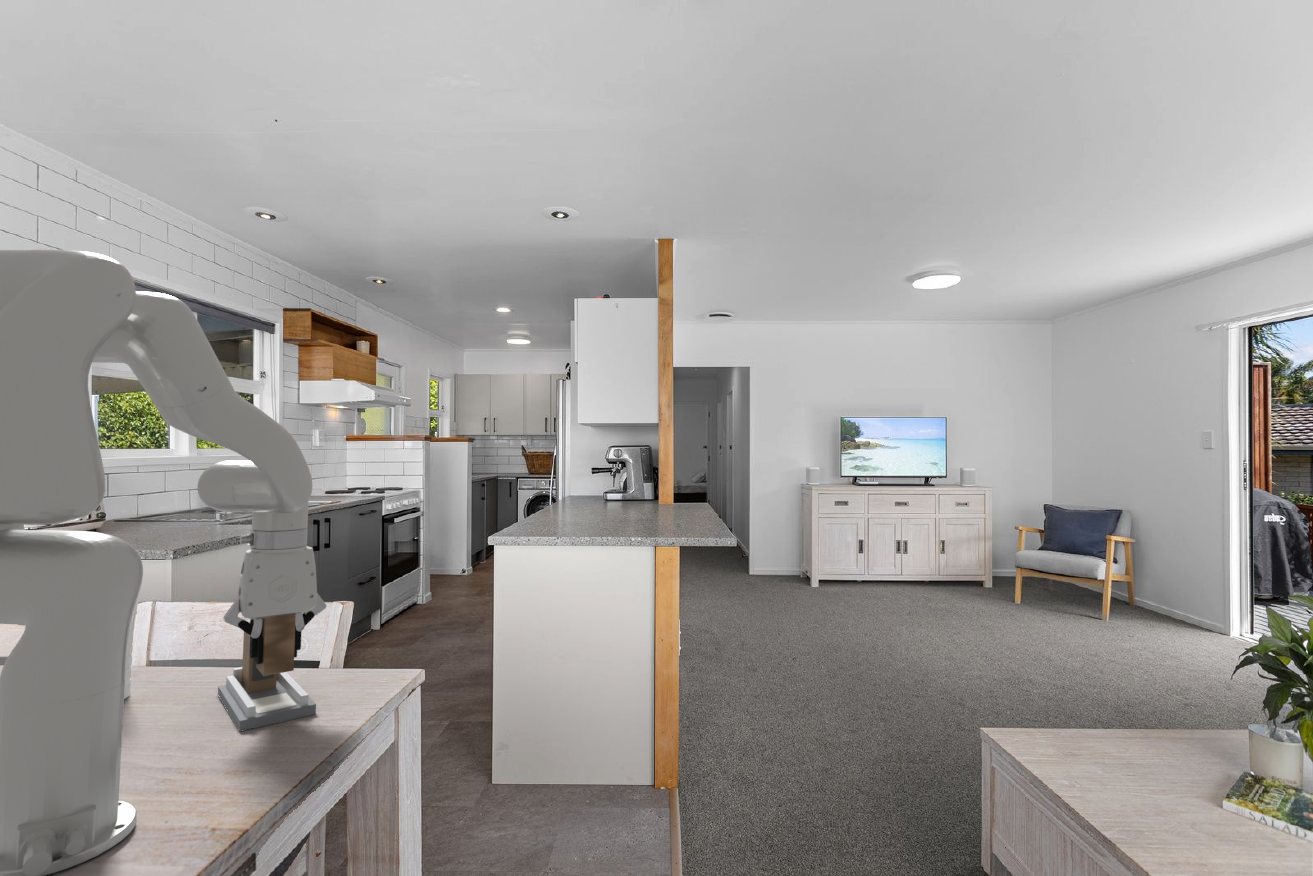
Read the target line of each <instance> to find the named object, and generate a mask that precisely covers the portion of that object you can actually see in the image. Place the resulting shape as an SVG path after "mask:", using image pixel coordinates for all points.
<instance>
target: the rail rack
mask: <svg viewBox="0 0 1313 876" xmlns="http://www.w3.org/2000/svg"><path fill="white" fill-rule="evenodd" d="M225 678H226V679H225V680H226V681H225V684H224V685H218V686H217V687H218V688H217V696H218V695H219V696H220V698H221V700H222V701H223V703H222V705H223V704H224V705H225V707H226V708H225V707H224V708H225V710H226V709H227V710H228V712H229V713H228V712H227V713H228V715H229V714H230V715H231V717H230V719H231V720H232V719H233V720H232V721H234V722H233V723H234V725H235V724H236V725H235V726H237V727H236V728H237V730H238V729H239V730H238V732H239V731H240V732H243V731H242V730H244V731H247V729H249V730H252V729H251V728H253V729H256V728H261V727H264V726H269V725H274V724H278V723H283V722H287V721H290V720H291V721H292V720H296V719H299V718H303V717H308V716H314V715H316V714H317V712H316V711H317V703H316V702H315V701H314V700H313V699H312V698H311V697H310V696H309V694H308V693H307V692H306V691H305V690H304V689H303V688H302V687H301V685H300V684H299V683H298V682H296V681H295V679H294V678H293V677H292V676H291V675H290V674H289V673H288V672H283V673H278V674H273V675H268V676H263V675H262V673H261V672H260V671H259V670H258V669H257V663H256V662H255V661H254V658H250V635H248V634H247V633H246V632H244V631H243V643H242V666H240V667H233V670H232V675H227V676H226V677H225ZM220 698H219V699H220ZM221 700H220V701H221ZM224 705H223V706H224ZM227 710H226V711H227ZM230 715H229V716H230Z"/></svg>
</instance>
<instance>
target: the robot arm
mask: <svg viewBox="0 0 1313 876" xmlns="http://www.w3.org/2000/svg"><path fill="white" fill-rule="evenodd" d="M218 358H219V357H218V356H217V355H216V353H215V350H214V349H213V347H212V345H211V343H210V341H209V340H208V338H207V336H206V334H205V332H204V330H203V328H202V326H201V325H200V323H199V321H198V319H197V317H196V315H195V314H194V312H193V311H192V309H191V308H190V307H189V306H188V305H187V304H186V303H185V302H183V301H182V300H181V299H179V298H177V297H176V296H172V295H169V294H166V293H163V292H162V293H161V292H154V291H153V292H152V291H137V290H136V283H135V281H134V278H133V276H132V274H131V273H130V272H129V270H128V269H127V267H125V266H124V265H123V264H122V263H121V262H119V261H118V260H116V259H113V258H112V257H109V256H107V255H105V254H100V253H96V252H91V251H82V250H72V249H70V250H69V249H0V625H18V626H25V628H24V631H23V633H22V634H21V636H20V638H19V640H18V641H17V643H16V644H15V646H14V647H13V648H12V650H11V652H9V653H10V654H9V655H8V657H7V658H6V660H5V662H4V664H3V666H2V669H1V672H0V876H47V875H51V874H54V873H57V872H58V873H59V872H60V871H64V870H67V869H69V868H72V867H75V866H78V865H80V864H82V863H84V862H87V861H89V860H91V859H93V858H96V857H98V856H100V855H101V854H103V853H105V852H107V851H108V850H110V849H112V848H113V847H115V846H116V845H117V844H118V843H119V844H120V842H122V841H123V840H124V839H125V838H126V837H127V836H128V835H130V834H131V832H132V831H133V829H134V828H135V827H136V824H137V813H138V812H137V809H136V807H135V806H134V805H133V804H131V803H129V802H126V801H124V800H119V799H120V798H119V797H120V783H121V781H120V779H121V765H122V763H121V761H122V744H123V742H122V741H123V729H124V728H123V727H124V726H123V724H124V723H123V722H124V707H125V706H124V704H125V703H124V702H125V699H124V689H125V667H126V653H127V642H128V635H129V629H130V624H131V619H132V615H133V612H134V611H135V608H136V604H137V600H138V597H139V595H140V590H141V588H142V583H143V576H144V567H143V566H144V564H143V561H142V558H141V556H140V554H139V553H138V551H137V550H136V548H135V547H134V546H132V545H131V544H130V543H129V542H127V541H126V540H124V539H122V538H120V537H119V536H114V535H112V534H107V533H103V532H97V531H86V530H64V529H63V530H59V529H43V530H42V529H41V530H36V529H35V530H32V529H31V530H30V529H25V526H29V525H31V526H32V525H33V526H35V525H36V526H38V525H39V526H41V525H57V524H65V523H66V524H67V523H72V522H76V521H78V520H79V521H80V520H82V519H84V518H85V517H87V516H89V515H91V514H93V513H94V512H95V511H96V510H97V509H98V507H99V506H100V505H101V504H102V502H103V500H104V497H105V493H106V476H105V475H106V474H105V468H104V464H103V459H102V458H103V457H102V453H101V449H100V445H99V440H98V435H97V434H98V433H97V430H96V426H95V422H94V417H93V412H92V411H93V410H92V407H91V401H90V391H89V375H90V370H91V367H92V364H93V363H107V364H108V363H110V364H111V363H112V364H117V363H118V364H126V365H127V366H128V367H129V368H130V370H131V371H132V373H133V375H135V377H136V378H137V380H138V382H139V383H140V384H141V386H142V388H143V389H144V391H145V392H146V394H147V396H148V397H149V399H150V400H151V401H152V403H153V405H154V406H155V408H156V410H157V411H158V412H159V414H160V416H161V418H162V419H163V421H165V422H166V423H167V425H169V426H170V427H172V428H173V429H176V430H178V431H180V432H182V433H185V434H187V435H189V436H192V437H194V438H197V439H199V440H204V441H206V442H209V443H212V444H213V445H214V444H215V445H218V446H221V447H223V448H225V449H228V450H231V451H233V452H235V453H236V454H238V455H240V456H242V457H244V458H245V459H246V460H245V459H244V460H237V459H233V460H232V459H231V460H229V459H228V460H223V461H218V462H216V463H213V464H212V465H209V466H208V467H207V468H206V469H205V470H204V471H203V472H202V473H201V475H200V476H199V478H198V481H197V494H198V497H199V498H200V500H201V501H202V503H203V504H204V505H205V506H207V507H209V508H210V509H212V510H215V511H219V512H223V513H247V514H249V513H250V514H251V513H252V514H251V529H250V530H249V531H250V532H248V533H246V534H241V535H240V536H239V544H240V545H249V548H250V549H247V550H246V551H245V553H244V557H243V562H242V565H241V571H240V576H239V577H240V578H239V584H238V592H237V593H238V594H237V598H236V599H235V601H234V602H233V603H232V605H231V606H230V608H229V609H228V610H227V612H226V613H225V614H224V615H223V618H222V619H223V621H224V622H225V623H226V624H229V625H232V626H233V627H236V628H239V629H240V630H242V631H243V633H244V632H246V633H247V634H248V635H250V658H254V661H255V662H256V663H257V664H261V663H262V662H263V637H262V633H261V629H262V625H263V621H264V618H266V617H273V616H280V615H288V614H295V613H296V619H295V647H294V659H295V658H298V657H297V656H298V651H300V650H302V649H301V648H302V631H303V630H305V628H306V626H307V625H308V624H309V623H310V622H311V621H312V620H313V619H314V617H315V616H317V615H319V614H320V613H321V612H323V611H324V610H325V609H326V608H327V604H326V602H325V601H324V599H322V597H321V596H320V594H319V593H318V587H317V570H316V569H317V568H316V560H315V553H314V548H313V547H311V546H308V545H307V544H308V527H309V526H308V521H309V502H310V499H311V496H312V494H313V478H312V473H311V471H310V468H309V465H308V463H307V461H306V459H305V457H304V454H303V452H302V450H301V448H300V446H299V444H298V443H297V441H296V439H295V438H294V437H293V435H292V434H291V433H290V432H289V431H288V430H287V429H286V428H285V427H284V426H282V425H281V424H280V423H279V422H277V421H276V420H275V419H273V418H272V417H271V416H270V415H268V414H267V413H265V412H264V411H263V410H262V409H259V407H257V406H255V405H254V404H253V403H251V402H249V401H248V400H246V399H245V398H243V397H242V396H240V395H239V394H238V393H237V391H235V389H234V387H233V385H232V383H231V381H230V378H229V377H228V375H227V373H226V372H225V370H224V368H223V365H222V364H221V361H220V360H219V359H218ZM24 525H25V526H24ZM240 613H241V615H242V616H243V617H244V618H242V617H240V616H239V614H240ZM245 618H246V619H248V620H249V621H248V620H246V619H245Z"/></svg>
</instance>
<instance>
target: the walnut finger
mask: <svg viewBox="0 0 1313 876" xmlns="http://www.w3.org/2000/svg"><path fill="white" fill-rule="evenodd" d="M295 619H296V613H295V614H288V615H280V616H273V617H266V618H264V621H263V625H262V629H261V633H262V637H263V662H262V663H261V664H257V669H258V670H259V671H260V672H261V673H262V675H263V676H268V675H273V674H278V673H283V672H287V673H288V672H293V671H294V670H295V667H294V666H295V658H294V647H295Z"/></svg>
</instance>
